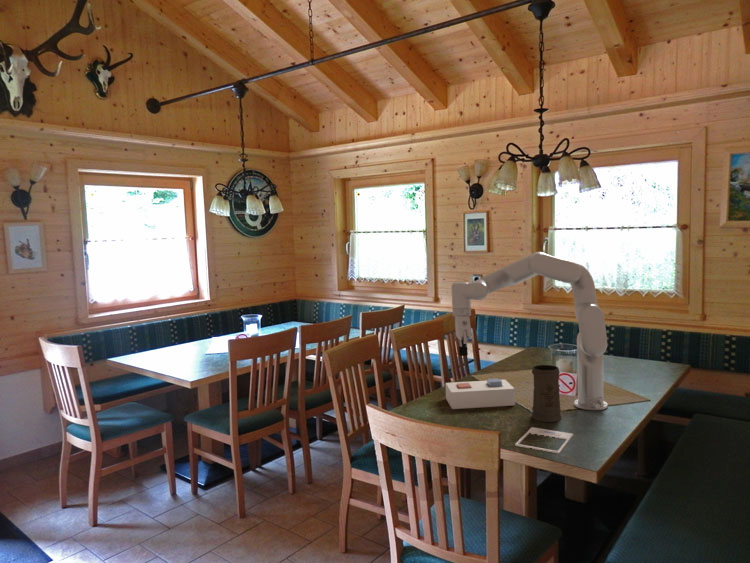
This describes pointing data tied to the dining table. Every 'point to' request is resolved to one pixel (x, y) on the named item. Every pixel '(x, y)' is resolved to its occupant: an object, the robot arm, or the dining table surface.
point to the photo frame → (546, 433)
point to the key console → (480, 395)
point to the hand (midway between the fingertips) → (463, 355)
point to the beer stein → (546, 393)
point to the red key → (463, 385)
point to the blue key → (494, 382)
